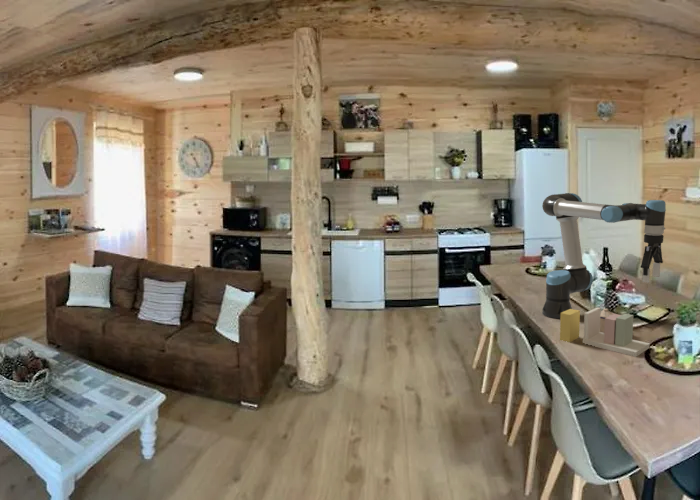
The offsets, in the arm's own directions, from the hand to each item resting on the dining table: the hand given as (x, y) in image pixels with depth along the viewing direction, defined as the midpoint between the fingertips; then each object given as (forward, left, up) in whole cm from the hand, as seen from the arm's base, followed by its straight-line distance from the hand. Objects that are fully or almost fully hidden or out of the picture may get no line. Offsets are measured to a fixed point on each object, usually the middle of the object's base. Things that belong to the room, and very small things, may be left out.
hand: (650, 279), depth 220 cm
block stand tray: (-3, -29, -25) cm, 38 cm away
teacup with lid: (-13, -14, -25) cm, 31 cm away
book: (-21, -34, -25) cm, 47 cm away
